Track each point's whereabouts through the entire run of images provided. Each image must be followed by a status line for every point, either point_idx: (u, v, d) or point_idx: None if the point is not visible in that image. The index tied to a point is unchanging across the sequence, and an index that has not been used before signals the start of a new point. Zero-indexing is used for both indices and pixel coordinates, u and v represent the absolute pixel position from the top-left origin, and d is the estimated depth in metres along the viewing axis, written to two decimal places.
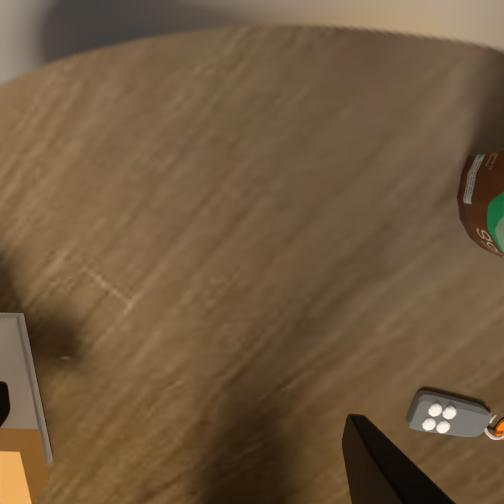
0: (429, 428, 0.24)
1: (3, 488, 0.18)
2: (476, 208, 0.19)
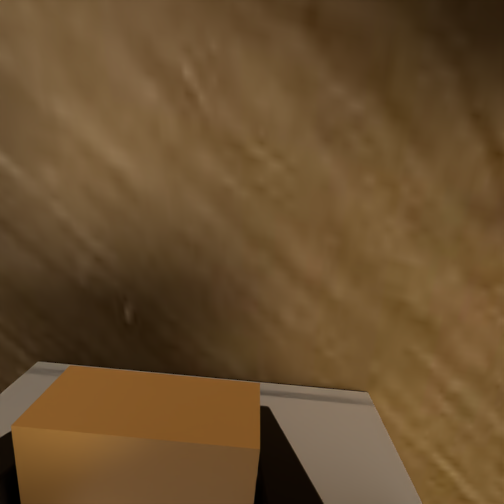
0: None
1: None
2: None
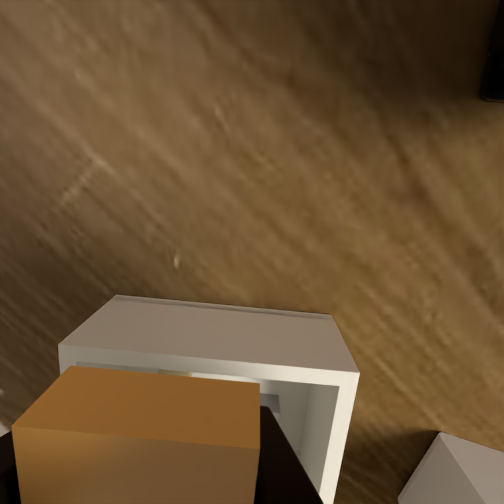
0: None
1: None
2: None
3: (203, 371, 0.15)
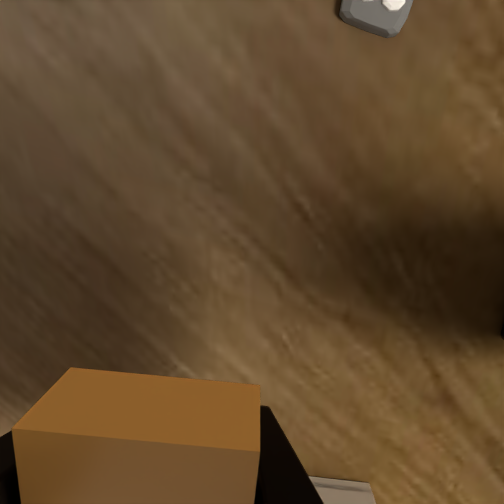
0: None
1: None
2: None
3: None
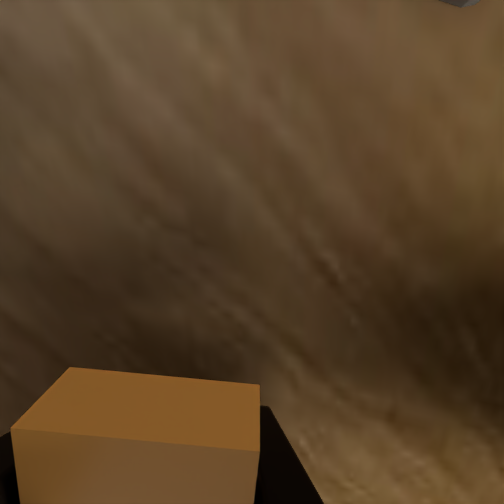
0: None
1: None
2: None
3: None
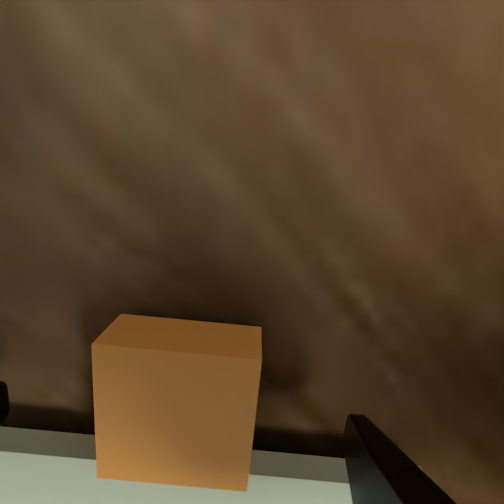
0: None
1: (206, 408, 0.08)
2: None
3: None
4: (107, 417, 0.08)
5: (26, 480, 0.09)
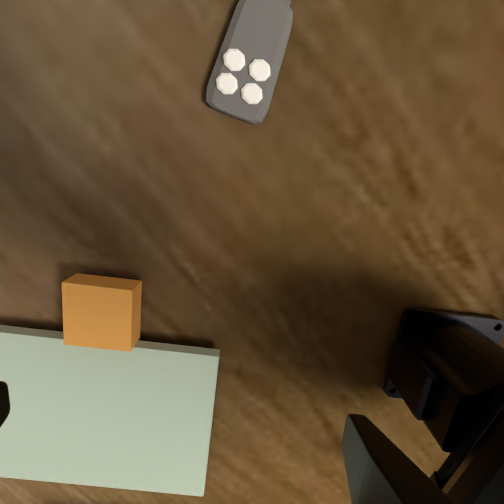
0: (257, 93, 0.16)
1: (110, 312, 0.18)
2: None
3: None
4: (68, 315, 0.18)
5: (31, 349, 0.19)
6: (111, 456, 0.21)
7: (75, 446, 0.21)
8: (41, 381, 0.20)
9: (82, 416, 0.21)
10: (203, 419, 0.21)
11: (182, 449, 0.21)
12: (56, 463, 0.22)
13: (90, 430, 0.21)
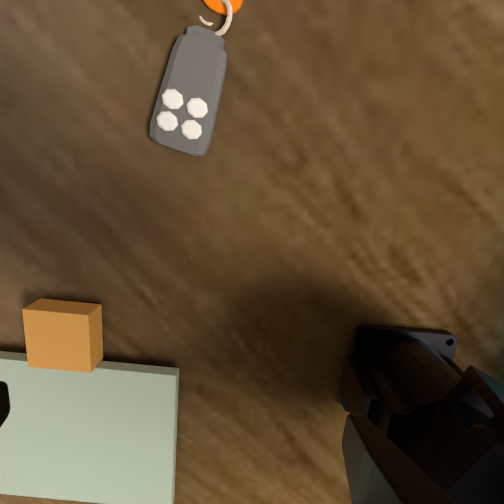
0: (195, 129, 0.17)
1: (69, 335, 0.19)
2: None
3: None
4: (30, 339, 0.19)
5: None
6: (81, 471, 0.22)
7: (46, 462, 0.22)
8: (11, 401, 0.21)
9: (51, 433, 0.22)
10: (165, 435, 0.21)
11: (147, 464, 0.22)
12: (29, 478, 0.23)
13: (59, 447, 0.22)
